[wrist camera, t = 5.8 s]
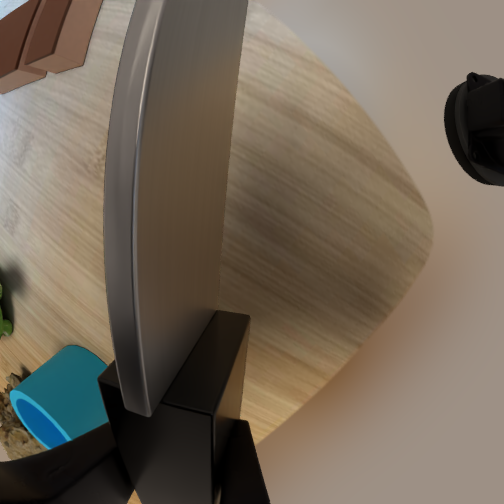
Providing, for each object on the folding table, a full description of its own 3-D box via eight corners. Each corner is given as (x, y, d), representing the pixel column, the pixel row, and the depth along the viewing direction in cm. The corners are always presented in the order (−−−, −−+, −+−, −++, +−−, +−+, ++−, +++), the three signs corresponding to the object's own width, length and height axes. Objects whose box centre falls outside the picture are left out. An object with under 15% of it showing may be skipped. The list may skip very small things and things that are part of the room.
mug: (48, 351, 24) (-1, 390, 16) (91, 338, 22) (33, 388, 14) (108, 435, 26) (75, 481, 18) (159, 436, 24) (127, 494, 16)
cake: (67, 6, 15) (42, -8, 11) (45, 77, 17) (14, 69, 13) (20, 30, 16) (-3, 22, 12) (2, 94, 18) (-25, 90, 14)
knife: (235, 457, 10) (210, 545, 6) (180, 444, 10) (142, 525, 6) (282, 3, 6) (263, -111, 2) (200, 5, 6) (132, -87, 2)
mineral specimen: (18, 344, 25) (-35, 383, 15) (93, 424, 26) (50, 478, 16) (8, 388, 29) (-29, 420, 19) (66, 448, 30) (35, 487, 20)
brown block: (106, -10, 14) (81, -28, 11) (83, 65, 17) (50, 52, 13) (77, 1, 15) (52, -14, 11) (55, 73, 17) (23, 64, 13)
